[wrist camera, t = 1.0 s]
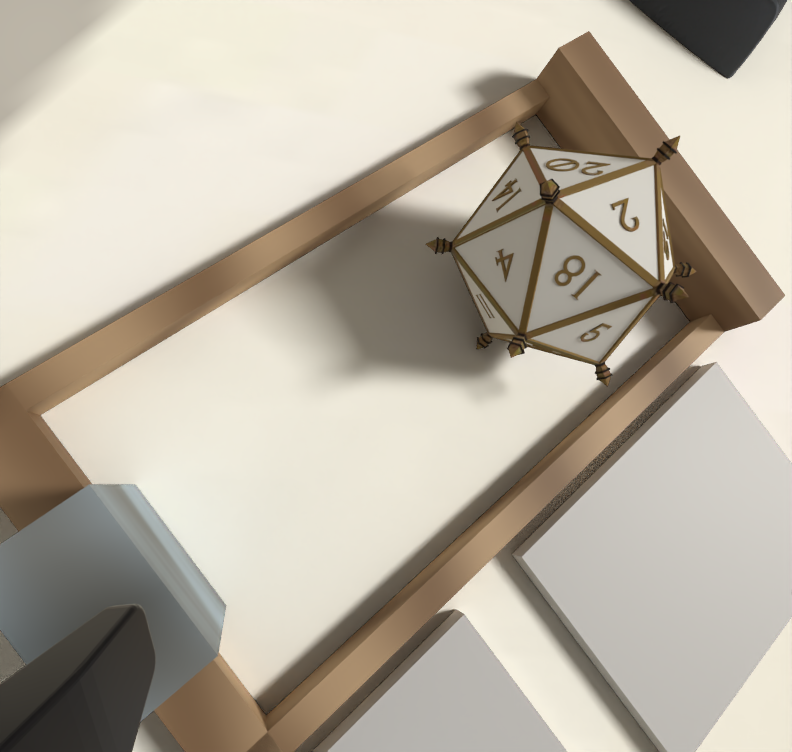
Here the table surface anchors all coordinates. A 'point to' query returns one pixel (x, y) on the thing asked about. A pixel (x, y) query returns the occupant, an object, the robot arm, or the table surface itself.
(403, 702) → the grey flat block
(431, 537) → the table surface
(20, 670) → the robot arm
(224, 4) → the table surface
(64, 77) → the table surface
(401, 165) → the wooden tray frame
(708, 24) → the external hard drive
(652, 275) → the game die
